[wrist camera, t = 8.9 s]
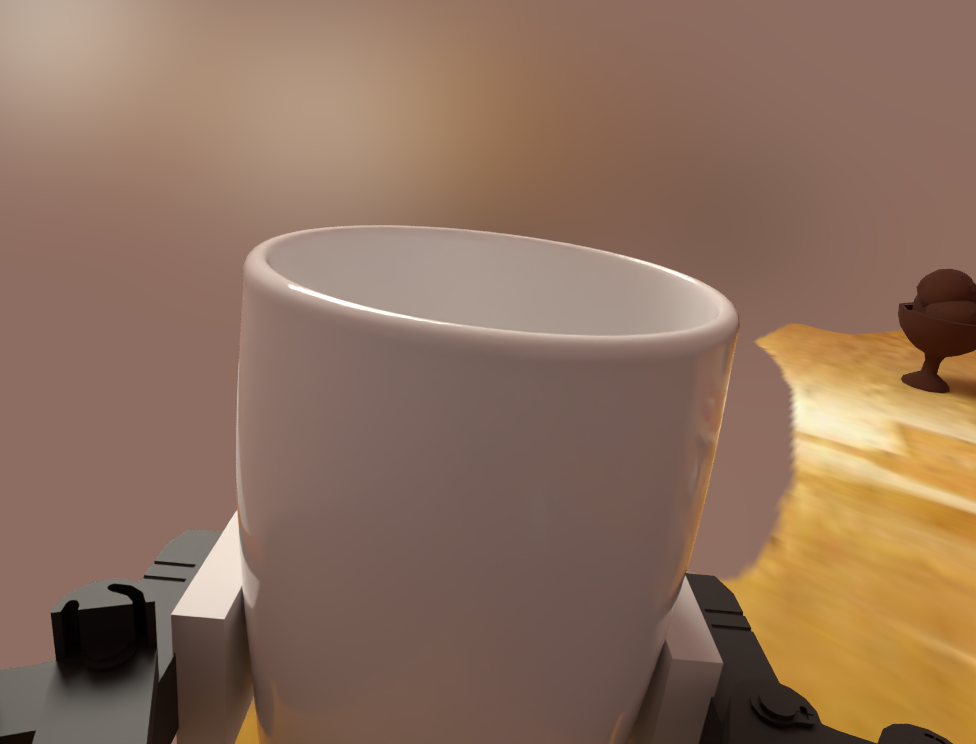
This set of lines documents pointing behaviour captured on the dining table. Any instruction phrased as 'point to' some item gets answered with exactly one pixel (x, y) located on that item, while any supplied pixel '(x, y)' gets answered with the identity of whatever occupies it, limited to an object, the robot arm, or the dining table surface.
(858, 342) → the dining table surface
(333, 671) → the drinking glass
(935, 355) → the ice cream bowl
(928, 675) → the dining table surface
